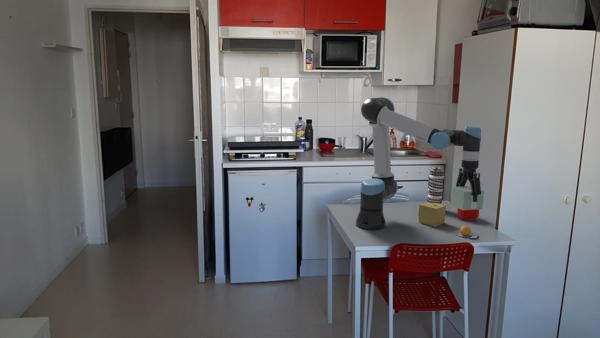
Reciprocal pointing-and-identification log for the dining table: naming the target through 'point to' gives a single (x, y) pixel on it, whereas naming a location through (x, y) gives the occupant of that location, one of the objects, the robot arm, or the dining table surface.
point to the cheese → (432, 214)
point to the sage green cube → (465, 198)
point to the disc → (466, 236)
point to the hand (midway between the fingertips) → (466, 205)
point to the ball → (465, 230)
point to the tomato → (468, 214)
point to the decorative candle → (435, 185)
